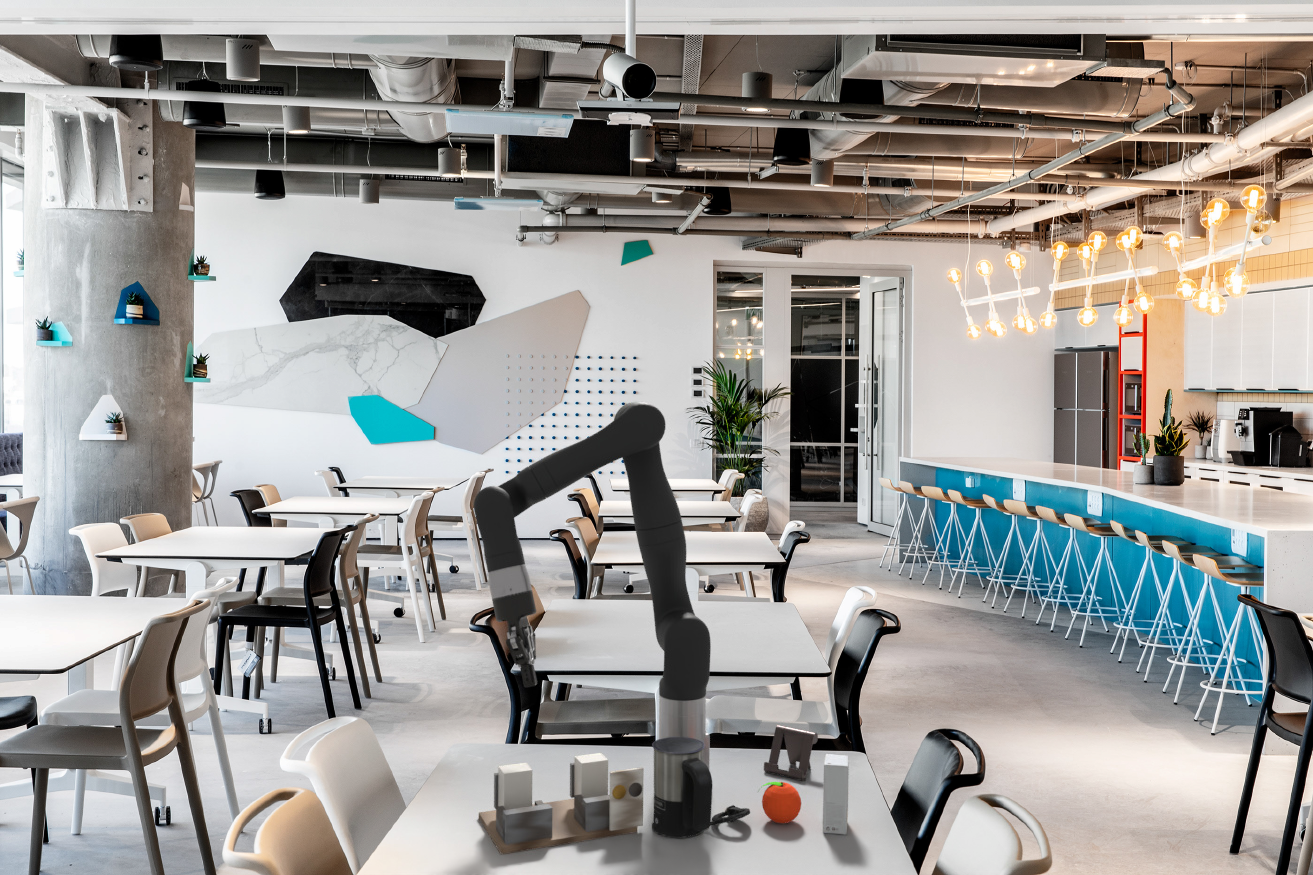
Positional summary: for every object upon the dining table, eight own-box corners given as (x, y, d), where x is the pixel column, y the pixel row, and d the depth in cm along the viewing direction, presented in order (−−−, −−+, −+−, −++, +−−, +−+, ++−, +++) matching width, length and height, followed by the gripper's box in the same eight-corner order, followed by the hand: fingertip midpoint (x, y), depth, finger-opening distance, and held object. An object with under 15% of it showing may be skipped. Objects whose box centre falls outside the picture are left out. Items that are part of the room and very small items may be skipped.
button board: (610, 798, 192) (610, 740, 192) (643, 831, 177) (643, 768, 177) (478, 817, 182) (478, 756, 182) (501, 854, 167) (502, 788, 167)
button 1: (526, 810, 183) (527, 760, 183) (534, 820, 178) (535, 769, 178) (493, 815, 180) (494, 764, 180) (501, 825, 176) (501, 773, 176)
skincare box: (847, 835, 176) (848, 766, 176) (822, 833, 177) (823, 764, 177) (848, 821, 182) (849, 754, 182) (823, 819, 183) (824, 752, 183)
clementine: (751, 825, 181) (751, 785, 180) (761, 810, 187) (762, 772, 187) (795, 832, 178) (796, 791, 177) (805, 817, 184) (805, 778, 184)
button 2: (600, 799, 188) (601, 750, 188) (610, 809, 184) (610, 759, 183) (569, 803, 186) (570, 754, 186) (578, 813, 181) (578, 763, 181)
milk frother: (640, 828, 179) (640, 743, 178) (699, 803, 190) (700, 724, 190) (702, 852, 169) (703, 763, 169) (760, 825, 181) (761, 741, 180)
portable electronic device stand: (762, 772, 207) (763, 731, 207) (781, 761, 213) (781, 722, 213) (802, 782, 202) (802, 740, 201) (819, 770, 208) (820, 730, 208)
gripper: (522, 589, 183) (542, 686, 181) (539, 587, 196) (558, 677, 194) (482, 598, 184) (502, 695, 181) (501, 595, 197) (520, 685, 195)
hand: (531, 685), depth 188 cm, fingers closed
